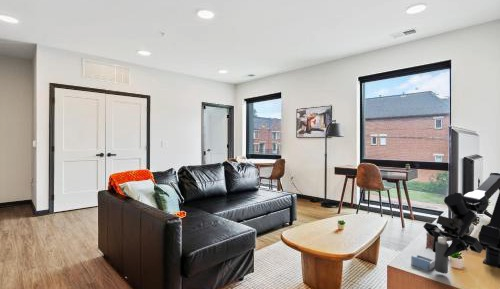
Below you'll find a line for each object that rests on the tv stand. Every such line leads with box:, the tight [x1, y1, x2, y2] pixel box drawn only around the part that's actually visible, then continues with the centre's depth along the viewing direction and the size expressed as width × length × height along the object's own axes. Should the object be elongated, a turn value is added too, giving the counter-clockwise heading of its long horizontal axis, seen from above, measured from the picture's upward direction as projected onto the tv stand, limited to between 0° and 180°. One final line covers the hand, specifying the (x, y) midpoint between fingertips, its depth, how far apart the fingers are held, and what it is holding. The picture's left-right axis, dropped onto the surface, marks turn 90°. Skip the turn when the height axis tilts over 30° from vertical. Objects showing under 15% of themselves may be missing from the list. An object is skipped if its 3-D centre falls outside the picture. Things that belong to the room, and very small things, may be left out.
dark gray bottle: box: [434, 236, 450, 275], centre depth 100 cm, size 4×4×12 cm
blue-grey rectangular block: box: [410, 248, 435, 272], centre depth 111 cm, size 18×6×4 cm, turn 129°
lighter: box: [425, 232, 448, 250], centre depth 121 cm, size 8×3×10 cm, turn 40°
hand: (439, 253), depth 99 cm, fingers closed on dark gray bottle, 4 cm apart
